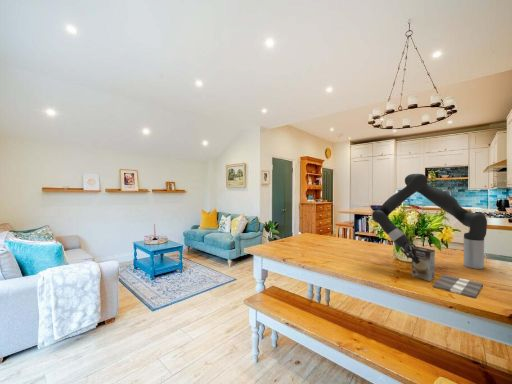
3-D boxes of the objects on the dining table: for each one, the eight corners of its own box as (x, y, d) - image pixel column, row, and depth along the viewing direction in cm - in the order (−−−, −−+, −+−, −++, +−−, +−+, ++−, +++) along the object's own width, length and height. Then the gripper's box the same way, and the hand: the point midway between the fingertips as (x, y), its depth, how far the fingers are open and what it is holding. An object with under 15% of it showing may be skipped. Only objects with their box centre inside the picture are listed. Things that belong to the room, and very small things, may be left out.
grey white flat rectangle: (443, 276, 131) (443, 274, 131) (482, 285, 119) (482, 283, 119) (432, 286, 119) (432, 284, 119) (475, 298, 106) (475, 296, 106)
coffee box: (411, 276, 133) (411, 248, 132) (416, 273, 136) (416, 246, 136) (429, 281, 125) (429, 251, 124) (435, 278, 128) (435, 249, 128)
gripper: (398, 235, 133) (422, 260, 124) (408, 232, 142) (430, 255, 133) (388, 243, 137) (411, 267, 129) (398, 239, 146) (419, 261, 138)
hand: (421, 261), depth 131 cm, fingers open, 8 cm apart
